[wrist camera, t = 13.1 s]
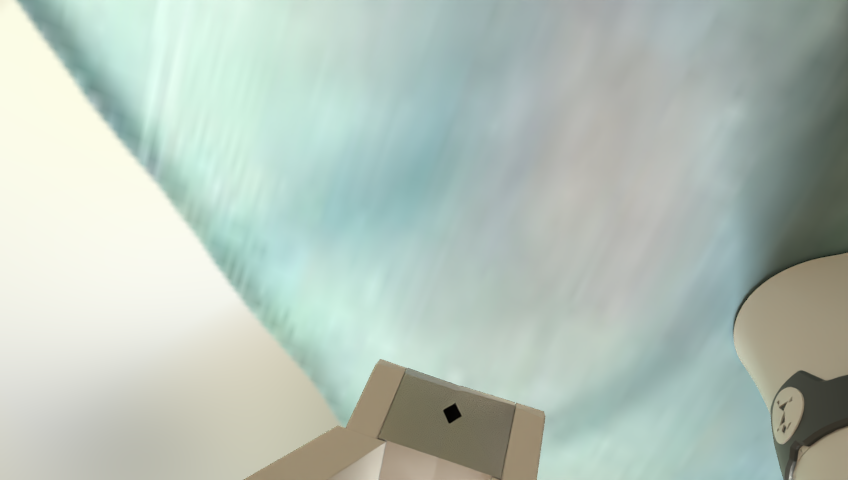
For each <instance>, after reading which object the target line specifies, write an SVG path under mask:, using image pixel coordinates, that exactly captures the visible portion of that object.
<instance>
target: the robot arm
mask: <svg viewBox="0 0 848 480" xmlns="http://www.w3.org/2000/svg"><path fill="white" fill-rule="evenodd" d="M734 344H735V349H736V352H737V354H738V357H739V359H740V360H741V362H742V364H743V365H744V367H745V368H746V369H747V371H748V372H749V374H750V376H751V377H752V379H753V380H754V382H755V384H756V386H757V388H758V389H759V391H760V393H761V395H762V397H763V399H764V402H765V404H766V406H767V408H768V410H769V413H770V415H771V424H772V432H773V439H774V445H775V449H776V453H777V457H778V461H779V465H780V469H781V472H782V476H783V479H784V480H848V253H844V254H840V255H834V256H828V257H823V258H818V259H814V260H810V261H807V262H804V263H801V264H798V265H795V266H793V267H790V268H788V269H786V270H784V271H782V272H780V273H778V274H776V275H775V276H773V277H772V278H770V279H768V280H767V281H766V282H764V283H763V284H762V285H761V286H759V287H758V288H757V289H756V290H755V291H754V292H753V293H752V294H751V295H750V296H749V298H748V299H747V300H746V301H745V303H744V304H743V306H742V308H741V310H740V311H739V314H738V316H737V319H736V322H735V326H734ZM544 423H545V414H544V411H541V410H537V409H534V408H531V407H528V406H525V405H521V404H518V403H516V404H515V402H512V401H509V400H506V399H502V398H499V397H496V396H493V395H489V394H486V393H483V392H480V391H476V390H473V389H470V388H467V387H464V386H458V385H456V384H453V383H450V382H447V381H444V380H441V379H438V378H435V377H432V376H430V375H427V374H424V373H421V372H418V371H415V370H412V369H409V368H405V367H402V366H399V365H396V364H393V363H391V362H388V361H385V360H382V359H380V360H379V361H378V363H377V364H376V365H375V367H374V369H373V371H372V373H371V375H370V378H369V380H368V382H367V384H366V386H365V388H364V390H363V392H362V394H361V397H360V399H359V401H358V403H357V405H356V407H355V409H354V411H353V413H352V415H351V418H350V420H349V422H348V424H347V426H346V428H344V427H341V426H336V427H334V428H332V429H331V430H329V431H327V432H326V433H324V434H322V435H320V436H319V437H317V438H315V439H313V440H312V441H310V442H308V443H306V444H305V445H303V446H301V447H299V448H298V449H296V450H294V451H293V452H291V453H289V454H287V455H286V456H284V457H282V458H281V459H279V460H277V461H275V462H274V463H272V464H270V465H268V466H267V467H265V468H263V469H261V470H260V471H258V472H256V473H254V474H253V475H251V476H249V477H247V478H246V479H244V480H537V473H538V466H539V458H540V451H541V444H542V437H543V430H544Z"/></svg>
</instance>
